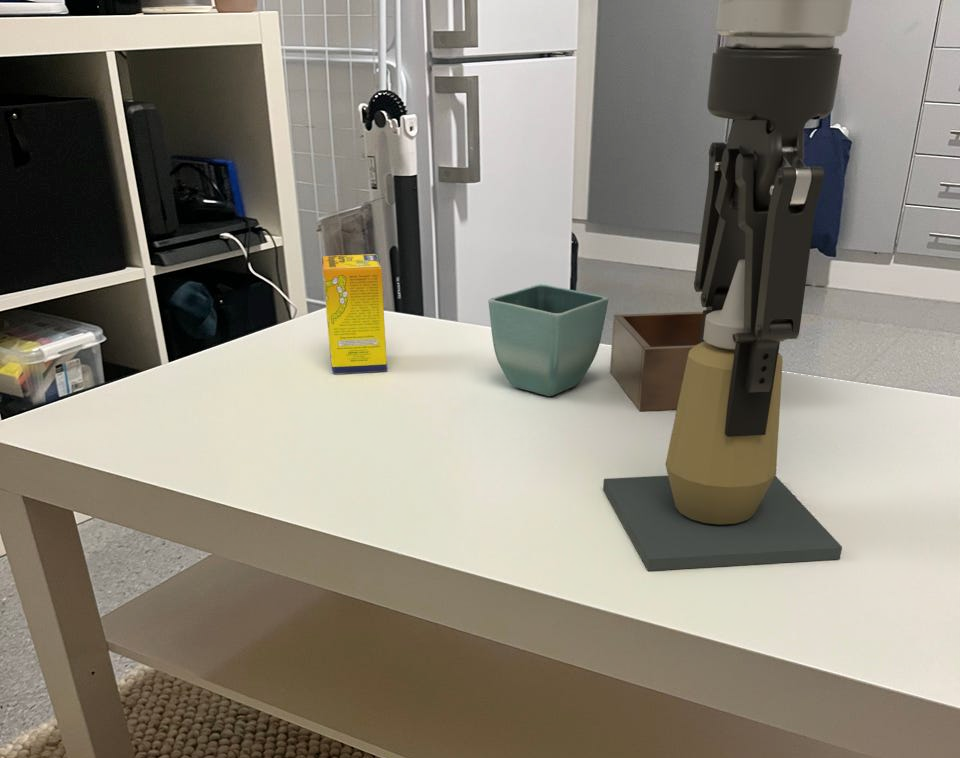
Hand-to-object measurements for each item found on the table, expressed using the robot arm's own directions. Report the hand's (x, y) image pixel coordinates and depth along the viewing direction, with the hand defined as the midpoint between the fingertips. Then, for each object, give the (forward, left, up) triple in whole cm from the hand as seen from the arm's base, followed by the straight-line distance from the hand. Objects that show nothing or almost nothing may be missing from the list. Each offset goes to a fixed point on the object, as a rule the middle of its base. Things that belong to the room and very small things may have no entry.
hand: (727, 415), depth 73 cm
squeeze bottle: (0, 0, -8) cm, 8 cm away
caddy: (-7, -31, -8) cm, 33 cm away
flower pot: (+7, -33, -9) cm, 35 cm away
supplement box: (+26, -43, -9) cm, 51 cm away
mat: (0, 0, -8) cm, 8 cm away
